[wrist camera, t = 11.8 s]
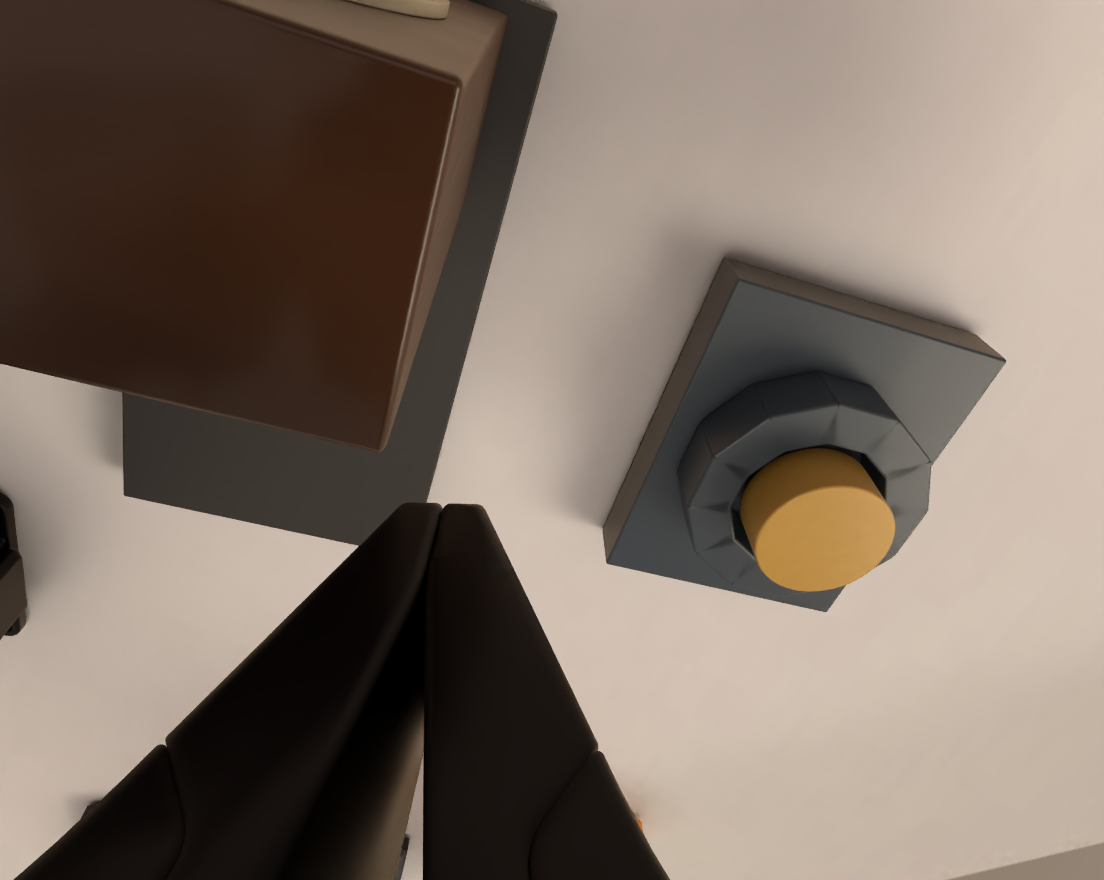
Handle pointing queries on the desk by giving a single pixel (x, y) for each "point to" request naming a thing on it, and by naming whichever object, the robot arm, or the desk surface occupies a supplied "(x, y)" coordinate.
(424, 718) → the robot arm
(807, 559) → the button
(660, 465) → the switch block
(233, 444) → the dark grey flat slab
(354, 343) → the alarm clock
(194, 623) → the desk surface
